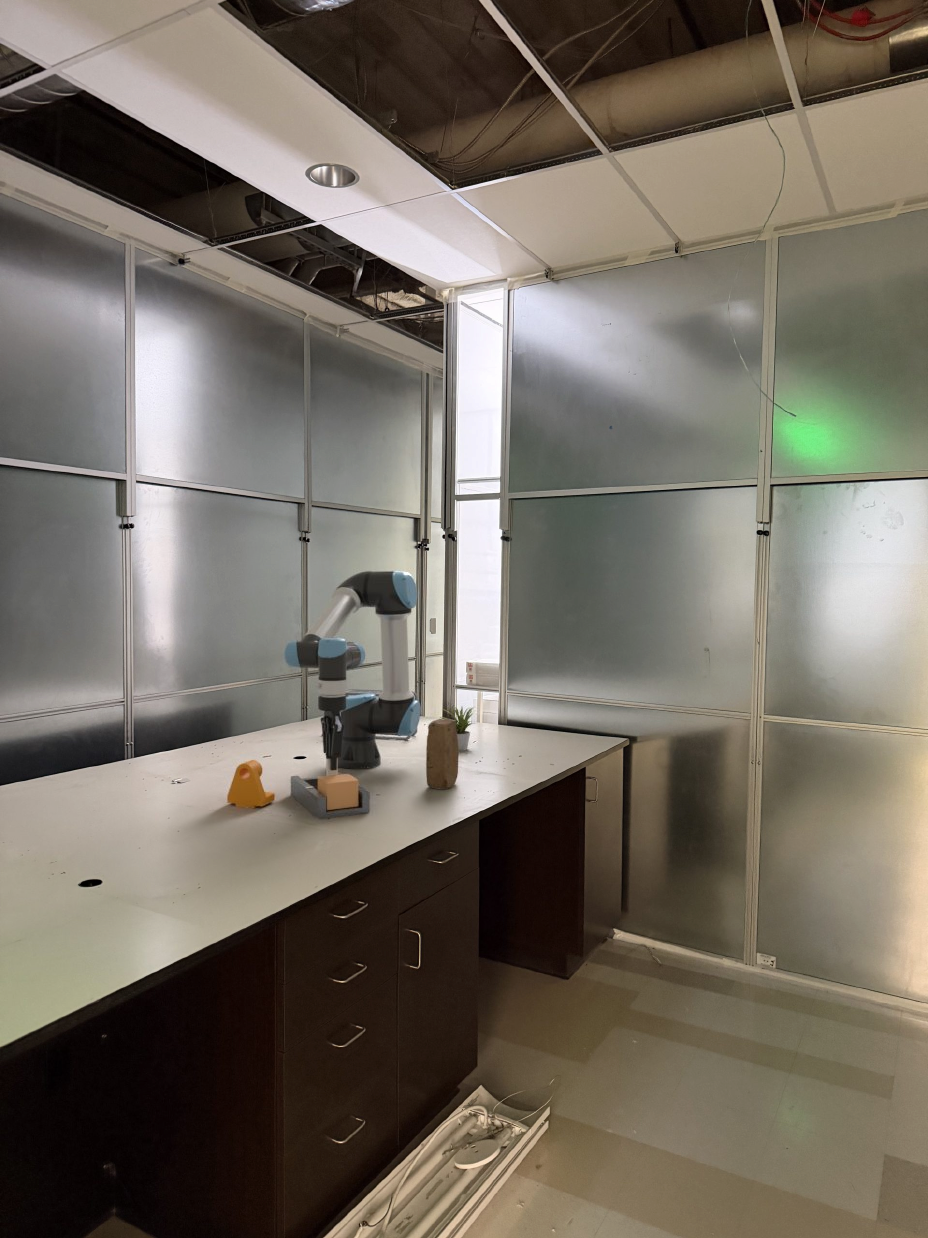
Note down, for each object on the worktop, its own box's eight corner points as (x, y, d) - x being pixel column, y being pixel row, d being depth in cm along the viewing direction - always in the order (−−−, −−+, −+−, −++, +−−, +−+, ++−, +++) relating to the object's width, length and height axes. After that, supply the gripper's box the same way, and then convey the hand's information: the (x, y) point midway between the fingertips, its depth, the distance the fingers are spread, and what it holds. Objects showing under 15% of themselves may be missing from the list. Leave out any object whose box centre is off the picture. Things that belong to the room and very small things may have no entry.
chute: (290, 795, 235) (290, 775, 234) (337, 789, 241) (337, 770, 241) (318, 819, 212) (318, 797, 211) (369, 812, 218) (369, 791, 218)
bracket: (276, 802, 227) (275, 759, 227) (262, 809, 220) (261, 765, 220) (242, 799, 231) (241, 756, 230) (227, 805, 224) (227, 762, 223)
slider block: (317, 802, 221) (317, 777, 221) (348, 799, 225) (348, 773, 225) (327, 810, 214) (327, 783, 214) (358, 806, 218) (358, 780, 218)
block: (446, 791, 241) (447, 723, 240) (423, 788, 244) (424, 721, 243) (461, 783, 250) (462, 718, 249) (439, 780, 253) (439, 716, 252)
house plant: (457, 743, 311) (457, 700, 311) (487, 747, 303) (488, 703, 303) (434, 749, 300) (434, 704, 299) (464, 754, 292) (465, 708, 291)
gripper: (311, 692, 226) (311, 777, 227) (326, 699, 215) (326, 788, 216) (337, 691, 230) (337, 774, 231) (353, 697, 218) (353, 785, 219)
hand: (331, 781), depth 223 cm, fingers closed
